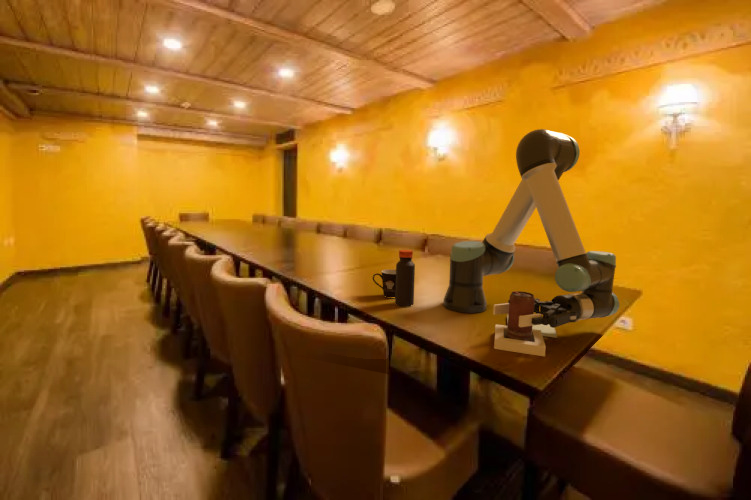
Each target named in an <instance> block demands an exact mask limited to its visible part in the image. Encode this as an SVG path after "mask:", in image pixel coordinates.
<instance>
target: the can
mask: <svg viewBox="0 0 751 500" xmlns="http://www.w3.org/2000/svg"><path fill="white" fill-rule="evenodd" d="M535 299H536V298H535V296H534V294H532V293H531V292H528V291H527V292H526V291H518V290H517V291H511V294H510V295H509V299H508V300H509V313H507V315H508V326H507V325H506V326H507V337H506V338H509V339H516V340H523V341H530V342H532V340H531V337H532V326H527V327H519V316H523V315H531V314H535V312H534V302H535Z"/></svg>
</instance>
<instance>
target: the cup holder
mask: <svg viewBox="0 0 751 500" xmlns="http://www.w3.org/2000/svg"><path fill="white" fill-rule="evenodd" d="M494 329H495V330H494V343H493V349H495V350H501V351H507V352H513V353H514V352H515V353H520V354H524V355H525V354H526V355H532V356H539V357H544V358H545V357H546V347H547V346H546V343H545V340H544V336H542V333H541V330H535V329H532V337H531V342H530V341H523V340H516V339H509V338H507V325H503V324H495V327H494Z"/></svg>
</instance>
